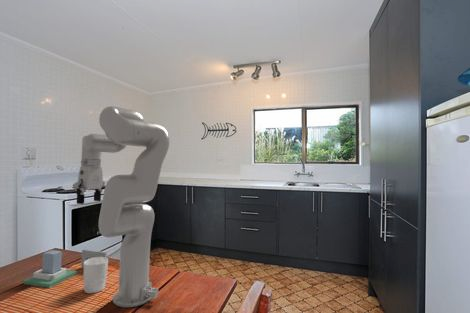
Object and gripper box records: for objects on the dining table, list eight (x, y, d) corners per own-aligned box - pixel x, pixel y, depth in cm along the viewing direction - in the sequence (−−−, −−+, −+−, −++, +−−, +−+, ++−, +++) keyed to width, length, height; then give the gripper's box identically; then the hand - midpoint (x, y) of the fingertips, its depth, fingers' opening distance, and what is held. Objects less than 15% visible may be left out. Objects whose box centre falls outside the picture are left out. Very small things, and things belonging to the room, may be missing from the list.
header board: (76, 274, 102) (77, 266, 102) (49, 287, 91) (49, 279, 91) (52, 270, 105) (52, 263, 105) (22, 283, 93) (23, 275, 93)
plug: (60, 274, 99) (61, 251, 99) (52, 278, 95) (53, 254, 96) (48, 272, 100) (49, 249, 101) (39, 276, 97) (40, 252, 97)
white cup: (79, 288, 90) (80, 260, 91) (102, 281, 96) (103, 255, 97) (86, 296, 85) (87, 266, 86) (110, 289, 91) (111, 261, 91)
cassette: (106, 269, 107) (107, 251, 108) (103, 271, 106) (104, 253, 106) (83, 266, 110) (84, 248, 111) (80, 268, 108) (81, 250, 109)
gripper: (83, 163, 102) (80, 205, 102) (111, 164, 119) (109, 200, 119) (67, 163, 104) (65, 204, 103) (97, 163, 121) (96, 199, 120)
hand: (89, 202), depth 111 cm, fingers open, 9 cm apart
